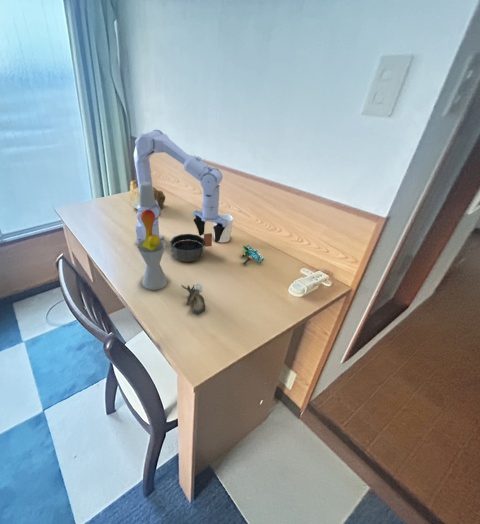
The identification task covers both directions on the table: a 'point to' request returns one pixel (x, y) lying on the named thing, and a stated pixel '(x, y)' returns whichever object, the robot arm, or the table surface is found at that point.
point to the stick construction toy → (251, 254)
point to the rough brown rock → (136, 196)
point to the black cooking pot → (189, 246)
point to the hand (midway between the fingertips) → (209, 237)
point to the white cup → (227, 231)
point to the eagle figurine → (196, 298)
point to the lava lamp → (151, 242)
